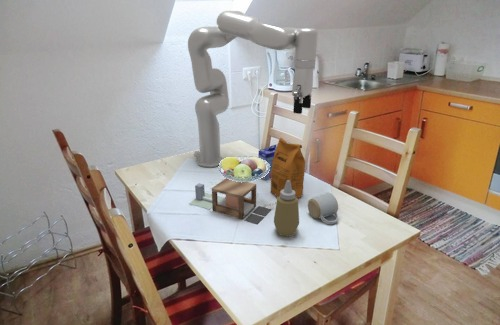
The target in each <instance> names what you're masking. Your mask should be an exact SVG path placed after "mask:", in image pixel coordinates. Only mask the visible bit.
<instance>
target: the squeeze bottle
mask: <svg viewBox="0 0 500 325" xmlns="http://www.w3.org/2000/svg"><path fill="white" fill-rule="evenodd" d="M295 194H296V193H295V191H294V190H292V187H291V182H290V180H287V181H286V185H285V188H284V189H283V190H281V191H280V196H279V197H276V204H275V211H274V218H273V224H274V227H275V230H276V233H277V234H278V235H279V236H282V237H292V236H294V235H295V233H296V231H297V229H298V227H299V224H300V210H299V199H298V198H299V197H298V198H296V197H295Z"/></svg>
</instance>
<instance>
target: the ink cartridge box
mask: <svg viewBox="0 0 500 325" xmlns="http://www.w3.org/2000/svg"><path fill="white" fill-rule="evenodd" d="M277 144H278V143H277ZM277 144H272V145H270V146H269V147H268V148H262V149H259V150H258V158H261V159H263V160H266V161H267V162H268V163H269V164H270V166H271V167H270V171H269V173H268V174H267V175H266V176H265V177H263V178H261V179H262V180H264V181H267V180H271V170H272V162H273V158H274V154H275V151H276V148H277Z"/></svg>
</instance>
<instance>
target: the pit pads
mask: <svg viewBox="0 0 500 325" xmlns="http://www.w3.org/2000/svg"><path fill="white" fill-rule="evenodd" d="M271 211H272V209H271V208H268V207H265V206H260V205H258V206H256V207H255V209H254V210H253V211H252V212H251V213H250V214H249V215H247V217H246V218H245V219H243V220H244V222H248V223H251V224H255V225H258V224H259V223H261V221H262V220H264V218H265V217H266V216H267V215H268V214H269V213H270V212H271Z"/></svg>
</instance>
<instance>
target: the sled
mask: <svg viewBox="0 0 500 325" xmlns="http://www.w3.org/2000/svg"><path fill="white" fill-rule="evenodd" d="M194 188H195V189H194V190H195V199H198V200H202V199H203V200H207V201H210V202H212V198H208V197H205V193H206V192H205V184H204V183H199V182H198V183H197V184H195V186H194ZM218 205H222V206H226V196H225V197H224V198H223V199H222V200H221V201H219V200H218ZM226 207H228V206H226ZM229 208H232V207H229ZM233 209H235V208H233ZM253 209H254V204H251V203H247V202H244V217H245V216H247V215H248V214H249V213H250V212H251V211H252V210H253ZM236 210H239V208H237V209H236Z"/></svg>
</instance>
